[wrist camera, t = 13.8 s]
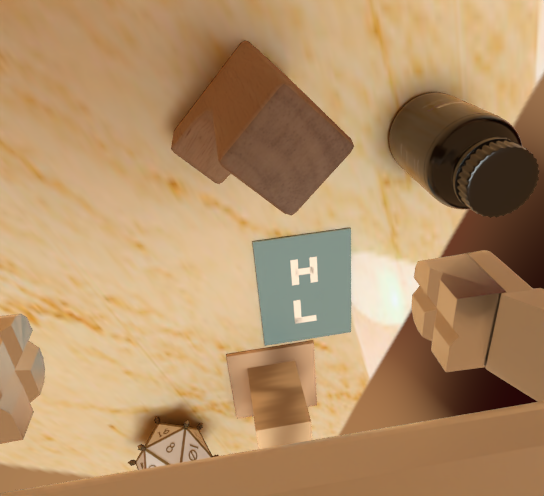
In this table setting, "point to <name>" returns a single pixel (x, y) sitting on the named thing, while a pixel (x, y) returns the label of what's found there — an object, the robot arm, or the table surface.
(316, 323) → the tile
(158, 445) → the game die
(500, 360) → the robot arm
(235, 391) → the cork mat
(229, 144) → the wooden block
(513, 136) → the supplement bottle
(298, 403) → the oak block
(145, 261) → the table surface
